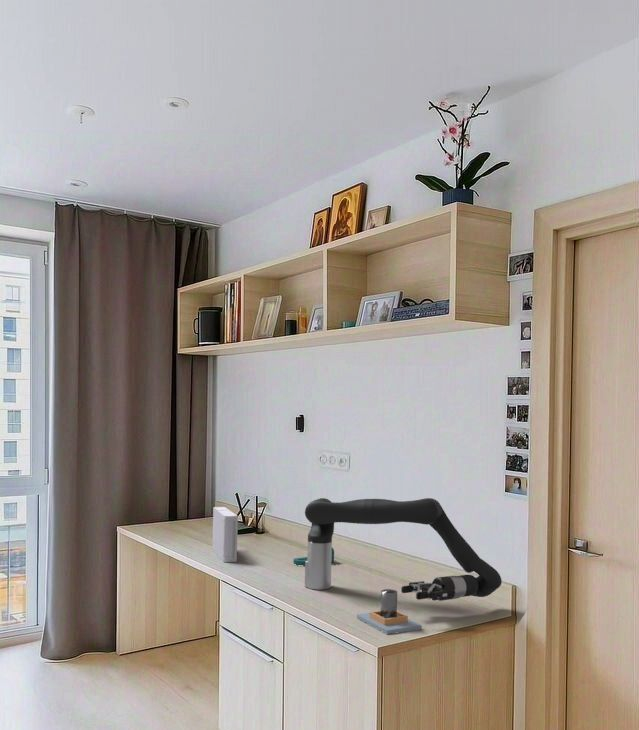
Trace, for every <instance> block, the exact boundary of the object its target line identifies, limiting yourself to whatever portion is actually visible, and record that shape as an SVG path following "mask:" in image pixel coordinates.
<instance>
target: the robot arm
mask: <svg viewBox="0 0 639 730" xmlns="http://www.w3.org/2000/svg"><path fill="white" fill-rule="evenodd" d="M304 515H305V518H306V519H307V521H309V523H311V526H310V530H309V532H308V535H307V557H308V558H307V561H306V562H305V566H304V588H305V587H306V588H308V589H311V590H318V591H319V590H322V591H323V590H327V589H331V588H332V563H331V559H332V548H333V544H332V543H333V535H334V532H335V523H336V524H337V523H344V524H345V523H347V524H358V525H362V524H363V525H385V524H393V523H394V524H395V523H413V524H420V525H427V526H428V525H429V526H430V527H431V528H432V529H433V530H434V531H435V532H436V533H437V535H439V537H440V538H441V539H442V541H443V542H444V544H445V546H446V547H447V550H448V552H450V554H451V556H452V557H453V558H454V559H455V560H456V562H457V564H459V565H460V567H461V569H463V570H464V572H466V573H468V574H463V575H448V576H437V577H435V578H434V579H433V580H432V582H425V581H423V580H422V581H413V582H409V583H408V584H407V585H402V586H401V588H400V589H401V593H402V594H407V593H416V594H415V599H416V600H419V601H420V600H426V599H427V600H432V601H440V602H442V601H450V600H455V599H460V598H464V597H470V596H471V597H475V598H485V597H488V596H489V595H492V594H493V593H494V592H495V591H496V590H498V589H499V588H500V587H501V586H502V582H503V580H502V577H501V575H500V573H499V571H497V569H495V567H493V566H492V565H490V564H489V563H487V562H486V561H485V560H484V559H482V558H481V557H480V556H479V555H478V553H476V551H475V550H474V549H473V548H472V546H471V545H470V544H469V543H468V542H467V540H466V539H465V538H464V537H463V536H462V535H461V534H460V532H459V531H458V530H457V528H456V527H455V525H454V524H453V523H452V522H451V520H450V517H448V515H447V513H446V511H445V510H444V509H443V507H442V505H441V503H440V502H439V501H438V500H437V499H435V498H431V497H430V498H429V497H426V498H425V497H424V498H422V499H421V498H420V499H414V500H405V501H399V500H398V501H397V500H392V499H386V498H384V499H383V498H363V499H362V498H360V499H352V500H348V501H343V502H333V501H331V500H330V499H328V498H324V497H321V498H318V499H314V500H312V501H310V502H309V503H308V504H307V505H306V507H305V510H304ZM473 572H474V573H475V574H477V575H478V576H477V577H475V576H474V575H473V574H470V573H473Z"/></svg>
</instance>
